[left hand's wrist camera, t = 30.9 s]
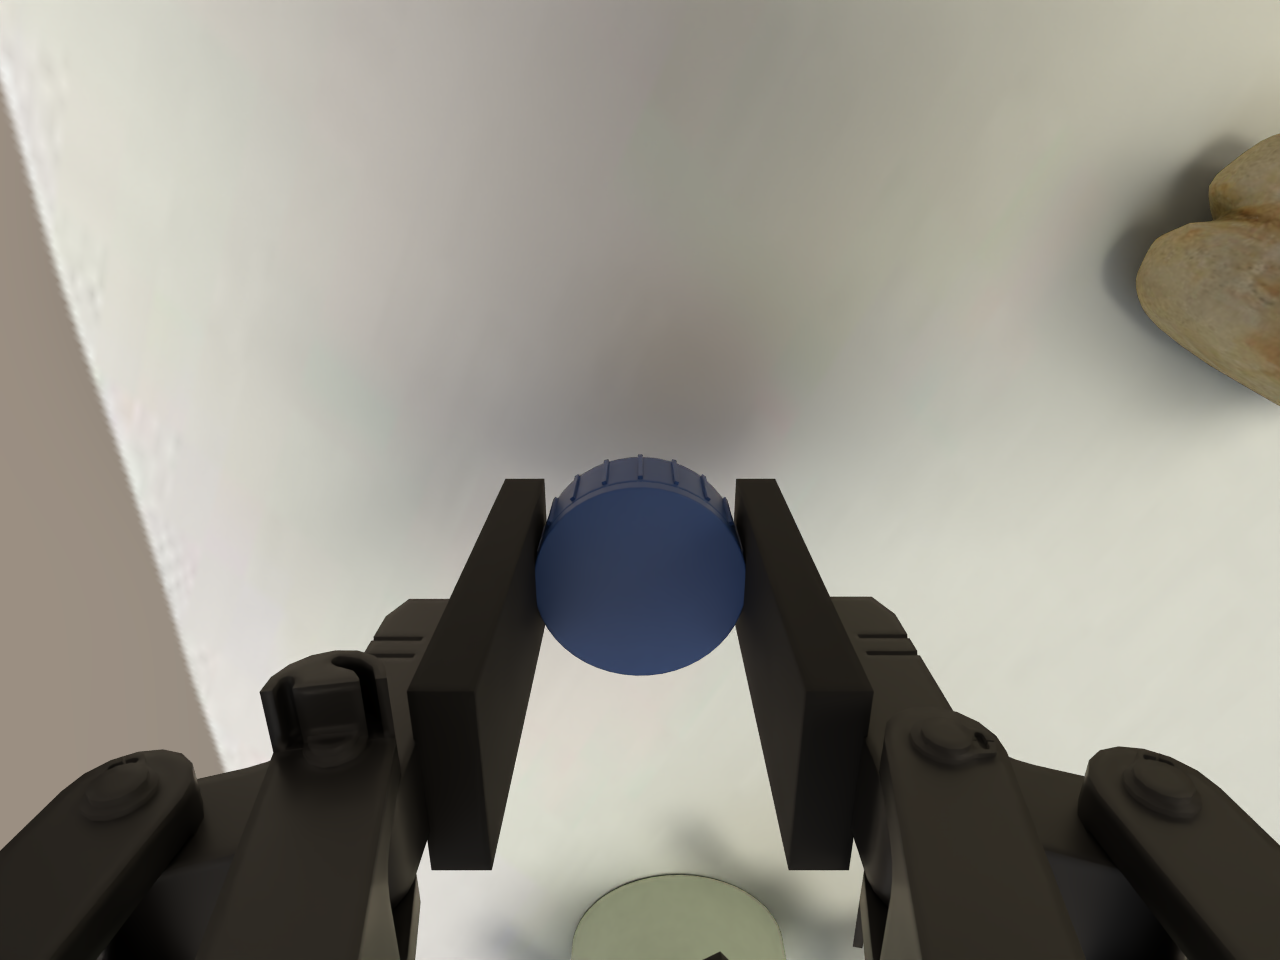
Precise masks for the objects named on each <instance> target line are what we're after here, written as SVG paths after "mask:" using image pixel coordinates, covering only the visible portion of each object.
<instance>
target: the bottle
mask: <svg viewBox="0 0 1280 960" xmlns="http://www.w3.org/2000/svg"><path fill="white" fill-rule="evenodd" d="M720 951H721V952H722V953H723V954H724V955H725V956H726V957H727V958H728V959H729V960H786V957H785V951H784V946H783V940H782V935H781V932H780V929H779V927H778V925H777V923H776V921H775V919H774V918H773V916H772V915H771V913H770V912H769V911H768V910H767V909H766V907H765V906H764V905H762V904H761V903H760V902H759V901H758V900H757V899H756V898H754V897H753V896H751V895H750V894H748V893H747V892H745V891H743V890H741V889H739V888H737V887H735V886H733V885H730V884H728V883H725V882H722V881H718V880H715V879H711V878H706V877H700V876H690V875H666V876H657V877H651V878H646V879H642V880H638V881H635V882H632V883H629V884H626V885H624V886H622V887H620V888H617V889H615V890H613V891H612V892H610V893H608V894H607V895H605V896H604V897H602V898H601V899H600V900H598V901H597V902H596V903H595V904H594V905H593V906H592V907H591V908H590V909H589V910H588V911H587V912H586V913H585V915H584V916H583V918H582V919H581V921H580V922H579V925H578V927H577V929H576V931H575V935H574V938H573V945H572V955H571V960H703V959H705V958H707V957H709V956H711V955H714V954H716V953H718V952H720Z"/></svg>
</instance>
